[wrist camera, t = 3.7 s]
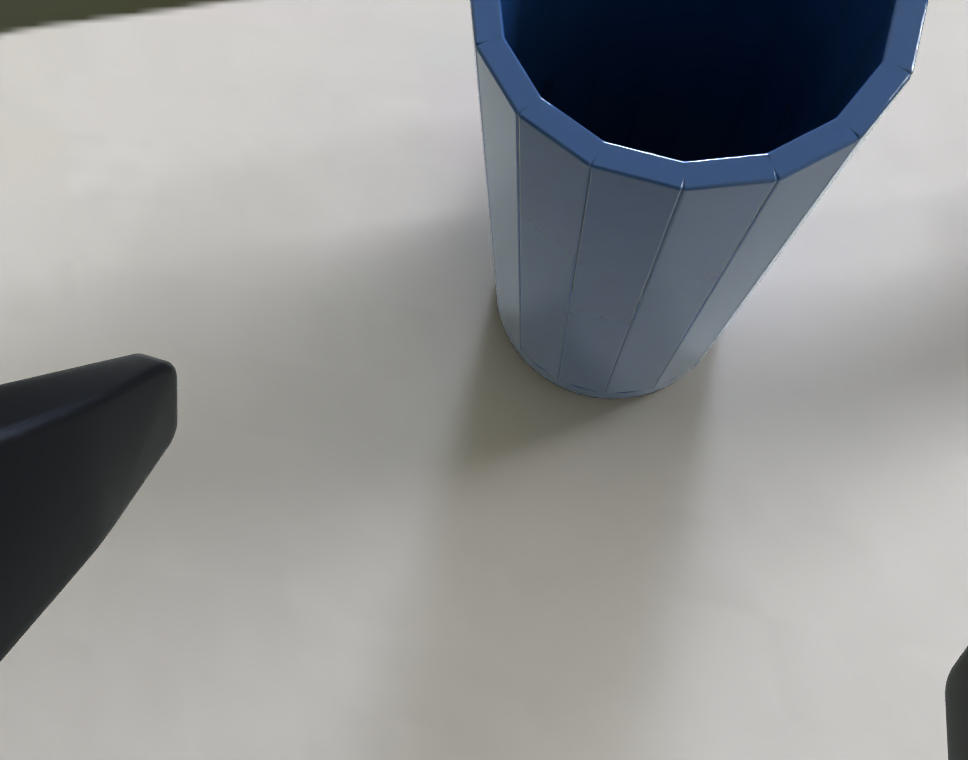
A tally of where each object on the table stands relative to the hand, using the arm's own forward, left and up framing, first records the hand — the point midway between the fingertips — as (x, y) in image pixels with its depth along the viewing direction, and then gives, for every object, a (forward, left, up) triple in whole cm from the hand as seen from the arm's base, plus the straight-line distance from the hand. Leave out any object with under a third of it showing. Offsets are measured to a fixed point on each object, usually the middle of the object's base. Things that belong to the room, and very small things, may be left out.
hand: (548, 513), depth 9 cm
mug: (+6, +8, -13) cm, 17 cm away
